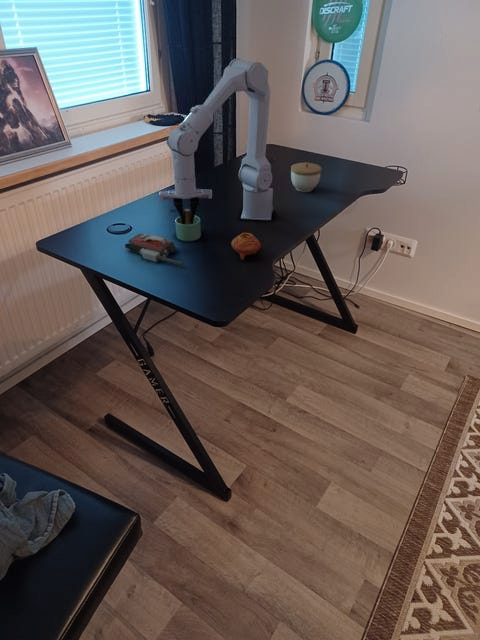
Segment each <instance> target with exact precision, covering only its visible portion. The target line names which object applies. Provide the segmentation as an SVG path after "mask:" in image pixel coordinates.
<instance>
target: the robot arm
mask: <svg viewBox="0 0 480 640" xmlns="http://www.w3.org/2000/svg"><path fill="white" fill-rule="evenodd" d="M269 73H270V72H269V70H268V68H267V67H266V66H265V65H264V64H263V63H262V62H259V61H252V60H251V61H250V60H246V59H242V58H238V57H237V58H234V59H232V60H231V61H230V62H229V64H228V65H227V66H226V67H225V68H224V70H223V75H222V77H221V78H220V80H219V81H218V82H217V84H216V86H215V87H214V88H213V90H212V91H211V93H210V94H209V95H208V97H207V98H206V99H205V101H204V103H202V104H196V105H195V106H192V107H191V108H190V109H189V111H190V113H189V114H188V115H187V116H186V118H185V119H184V120H183V121H182V122H180V123H179V125H178V127H176V128H173V129H172V130H171V131H170V133H169V134H168V138H167V139H166V144H167V146H168V148H169V149H170V151H171V156H172V157H171V158H172V168H173V180H174V189H170V190H163V191H159V193H158V196H159V201H160V202H164V201H165V200H169V201H170V200H173V205H174V207H175V209H176V211H177V213H178V215H179V216H180V217H181V220H182V224H185V220H184V204H183V201H184V200H189V205H190V215H191V224H193V220H194V215H195V216H196V211H197V209H198V207H199V204H200V199H209V200H210V199H213V189H203V188H197V186H196V183H197V182H196V170H195V169H196V168H195V167H196V166H195V155H194V154H195V152H196V151H197V149H198V146H199V141H201V140H200V139H201V137H202V136H203V135H204V133H205V132H206V131H207V130H208V128H209V127H210V126H211V125H212V123H214V114H215V113H216V112H217V111H218V110H219V108H220V107H221V106H222V105H223V104H225V102H226V101H227V100H228V99H229V98H230V96H231V95H233V93H237V92H238V93H239V92H244V93H245V94H246V95H247V97H249V108H248V109H249V111H248V113H249V114H248V127H247V129H248V131H247V147H246V155H245V156H244V157H243V158H242V159H241V165H240V167H239V170H238V179H239V181H240V182H241V184H242V187H243V193H242V194H243V198H242V200H243V201H242V202H243V203H242V204H243V205H242V207H243V208H242V212H241V215H240V219H241V220H255V221H272V216H273V215H272V214H273V212H274V206H273V199H274V189H273V188H271V185H272V183H273V182H272V181H273V173H272V165H271V163H270V162H269V160H268V158H267V156H266V152H267V140H268V128H269V113H270V101H271V100H270V99H271V88H270V84H269Z"/></svg>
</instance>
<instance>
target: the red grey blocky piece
mask: <svg viewBox="0 0 480 640" xmlns="http://www.w3.org/2000/svg"><path fill="white" fill-rule="evenodd" d="M124 248H125V249H128V250H129V252H132V253H137V254H139V255H142V257H143V259H144V260H148V261H152V262H153V263H158V262H166V263H168V264H173V265H178V266H184V262H183V261H179V260H175V259H173V258H168V256H169V255H170V254H172V253H175V250H176V246H175V241H173V240H169V239H166V238H165V237H162V236H158V235H155V234H153V235H149V234H145V233H138V234H136V235H134V236H133V237H131V238H130V239H129V240H128V243H125V244H124Z"/></svg>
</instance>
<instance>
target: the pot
mask: <svg viewBox="0 0 480 640" xmlns="http://www.w3.org/2000/svg"><path fill="white" fill-rule="evenodd" d="M230 243H231V247H232V249H233V251H234V252H235V253H237V254H239V256H240V260H241V261H244V260H245V258H246V256H251V255H257V253H258V251H259V250H260V248H261V247H262V244H261V242H260V241H259V239H258V238H257V237H255V235H254V234H252V233H250V232H242V233H241V234H239V235H237V236H236V237H234V238H233V239H232V241H231V242H230Z"/></svg>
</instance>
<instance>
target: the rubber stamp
mask: <svg viewBox="0 0 480 640" xmlns="http://www.w3.org/2000/svg"><path fill="white" fill-rule="evenodd" d="M183 212H184V220H185V224H183V225H190V224H191V216H190V215H191V208H185V209H184V208H183Z"/></svg>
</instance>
